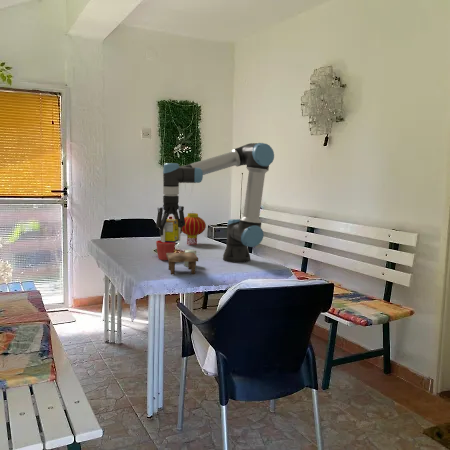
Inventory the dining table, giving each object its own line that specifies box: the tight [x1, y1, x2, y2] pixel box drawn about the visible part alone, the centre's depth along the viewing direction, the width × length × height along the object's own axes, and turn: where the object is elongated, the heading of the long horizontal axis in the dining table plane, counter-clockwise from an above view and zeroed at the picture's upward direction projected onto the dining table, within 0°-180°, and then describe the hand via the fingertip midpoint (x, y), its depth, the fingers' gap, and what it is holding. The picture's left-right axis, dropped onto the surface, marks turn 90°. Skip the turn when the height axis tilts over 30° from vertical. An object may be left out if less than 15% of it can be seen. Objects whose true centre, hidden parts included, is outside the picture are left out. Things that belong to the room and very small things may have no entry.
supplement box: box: [163, 218, 178, 243], centre depth 239 cm, size 6×6×11 cm
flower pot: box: [155, 239, 177, 261], centre depth 266 cm, size 11×11×10 cm
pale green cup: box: [183, 249, 197, 268], centre depth 251 cm, size 6×6×8 cm
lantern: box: [182, 212, 207, 246], centre depth 311 cm, size 17×17×30 cm
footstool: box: [166, 252, 199, 275], centre depth 239 cm, size 14×14×8 cm
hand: (170, 240), depth 239 cm, fingers closed on supplement box, 8 cm apart
